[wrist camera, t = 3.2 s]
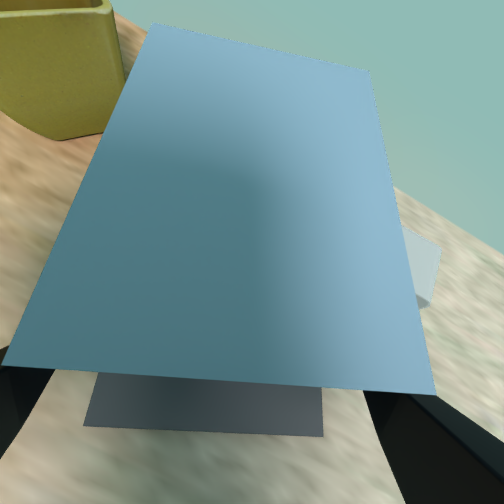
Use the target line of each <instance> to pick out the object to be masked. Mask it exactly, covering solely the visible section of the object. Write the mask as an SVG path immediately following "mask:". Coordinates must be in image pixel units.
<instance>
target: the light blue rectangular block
mask: <svg viewBox="0 0 504 504" xmlns="http://www.w3.org/2000/svg"><path fill="white" fill-rule="evenodd" d="M1 365H5V366H20V367H34V368H49V369H63V370H78V371H92V372H107V373H121V374H136V375H150V376H165V377H179V378H194V379H208V380H223V381H237V382H252V383H266V384H281V385H296V386H310V387H325V388H339V389H354V390H368V391H383V392H397V393H412V394H426V395H436V390H435V385H434V380H433V375H432V371H431V366H430V361H429V356H428V351H427V347H426V342H425V337H424V332H423V328H422V323H421V318H420V313H419V308H418V304H417V299H416V294H415V289H414V284H413V280H412V275H411V270H410V265H409V260H408V256H407V251H406V246H405V241H404V236H403V232H402V227H401V222H400V217H399V212H398V208H397V203H396V198H395V193H394V188H393V184H392V179H391V174H390V169H389V164H388V160H387V155H386V150H385V145H384V140H383V136H382V131H381V126H380V121H379V116H378V112H377V107H376V102H375V97H374V92H373V88H372V83H371V79H370V73H369V71H366V70H362V69H357V68H353V67H349V66H344V65H340V64H335V63H331V62H327V61H322V60H318V59H313V58H309V57H304V56H300V55H296V54H291V53H286V52H282V51H278V50H273V49H269V48H264V47H260V46H256V45H251V44H246V43H242V42H238V41H233V40H229V39H225V38H220V37H215V36H211V35H206V34H202V33H198V32H193V31H189V30H185V29H179V28H176V27H171V26H167V25H162V24H158V23H152V25H151V27H150V29H149V31H148V34H147V36H146V38H145V40H144V43H143V45H142V47H141V49H140V52H139V54H138V56H137V58H136V61H135V63H134V65H133V68H132V70H131V72H130V74H129V77H128V79H127V81H126V83H125V86H124V88H123V90H122V92H121V95H120V97H119V99H118V101H117V104H116V106H115V108H114V111H113V113H112V115H111V117H110V120H109V122H108V124H107V126H106V129H105V131H104V133H103V135H102V138H101V140H100V142H99V144H98V147H97V149H96V151H95V153H94V156H93V158H92V160H91V163H90V165H89V167H88V169H87V172H86V174H85V176H84V178H83V181H82V183H81V185H80V187H79V190H78V192H77V194H76V196H75V199H74V201H73V203H72V206H71V208H70V210H69V212H68V215H67V217H66V219H65V221H64V224H63V226H62V228H61V230H60V233H59V235H58V237H57V239H56V242H55V244H54V246H53V248H52V251H51V253H50V255H49V258H48V260H47V262H46V264H45V267H44V269H43V271H42V273H41V276H40V278H39V280H38V282H37V285H36V287H35V289H34V291H33V294H32V296H31V298H30V300H29V303H28V305H27V307H26V310H25V312H24V314H23V316H22V319H21V321H20V323H19V325H18V328H17V330H16V332H15V334H14V337H13V339H12V341H11V343H10V346H9V348H8V350H7V353H6V355H5V357H4V359H3V362H2V364H1Z"/></svg>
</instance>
